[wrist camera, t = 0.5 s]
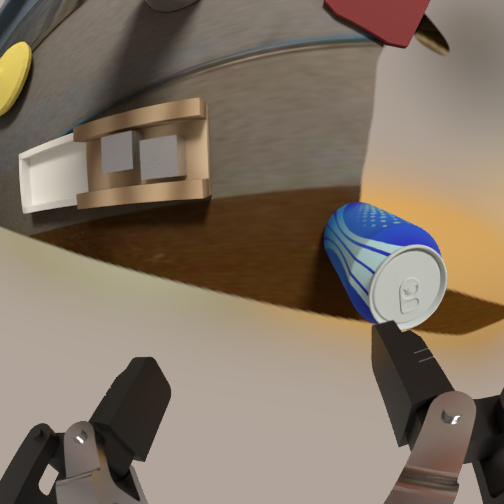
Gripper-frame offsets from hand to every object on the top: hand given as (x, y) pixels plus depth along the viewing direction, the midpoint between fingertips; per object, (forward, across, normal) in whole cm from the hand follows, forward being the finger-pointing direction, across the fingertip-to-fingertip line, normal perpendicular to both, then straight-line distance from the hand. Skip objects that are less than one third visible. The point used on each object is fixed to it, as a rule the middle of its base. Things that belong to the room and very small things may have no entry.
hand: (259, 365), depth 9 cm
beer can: (+25, -10, +4) cm, 27 cm away
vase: (+26, +40, -40) cm, 63 cm away
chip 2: (+24, +10, -10) cm, 28 cm away
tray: (+25, +30, -15) cm, 42 cm away
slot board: (+25, +14, -12) cm, 31 cm away
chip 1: (+24, +15, -13) cm, 31 cm away
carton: (+26, -26, -32) cm, 48 cm away
